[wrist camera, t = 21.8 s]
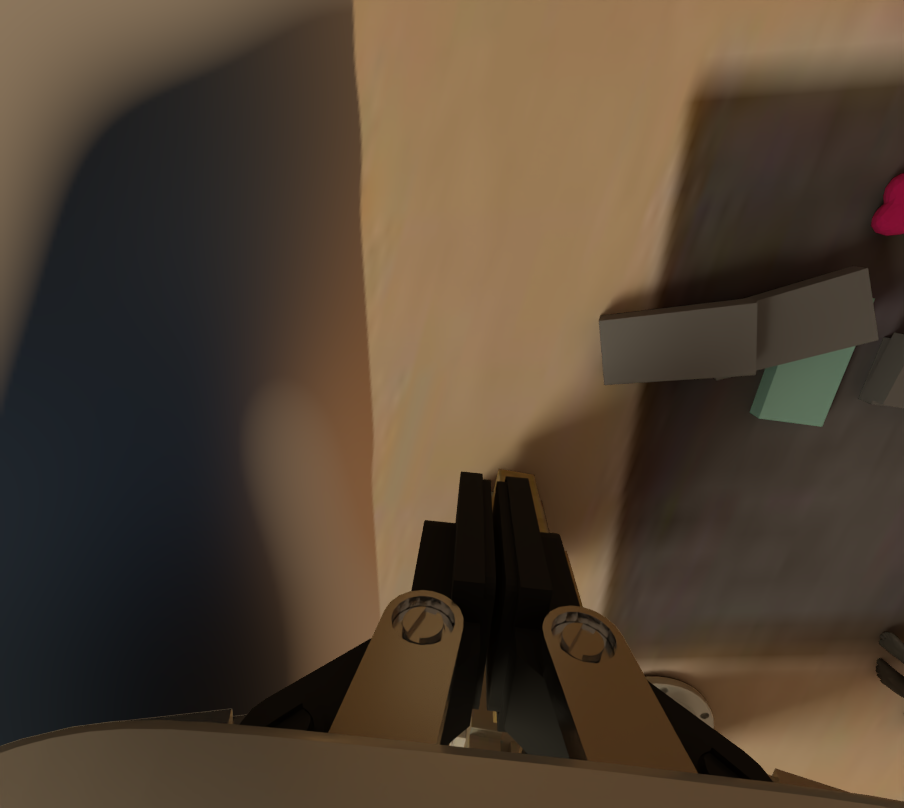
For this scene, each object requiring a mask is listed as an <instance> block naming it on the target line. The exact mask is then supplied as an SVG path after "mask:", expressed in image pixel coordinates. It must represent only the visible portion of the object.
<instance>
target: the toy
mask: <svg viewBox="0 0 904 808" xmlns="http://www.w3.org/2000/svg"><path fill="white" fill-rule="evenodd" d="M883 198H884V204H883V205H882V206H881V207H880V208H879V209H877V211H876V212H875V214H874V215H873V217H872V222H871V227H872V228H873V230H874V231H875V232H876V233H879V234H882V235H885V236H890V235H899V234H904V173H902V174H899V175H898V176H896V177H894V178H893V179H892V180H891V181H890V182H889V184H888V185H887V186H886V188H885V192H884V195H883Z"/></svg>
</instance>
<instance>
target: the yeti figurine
mask: <svg viewBox="0 0 904 808" xmlns="http://www.w3.org/2000/svg"><path fill="white" fill-rule="evenodd" d="M880 638H881V639H880V641H879V644H880V645H881V646H882V647H883V648H885V649H886V650H887V651H888V652H889V653H890V654H892V655H893V656H894V657H896V658H897V659H898V660H900V661H901V662H902V663H904V643H903V642H902V641H901V640H900V639H899V638H898V637H897V636H895V635H894V634H893V633H889V632H884V633H882V634H881V635H880ZM877 664H878V665H877V666H876V672H877V673H878V674H877V676H878V677H879V678H880V679H881V680H880V681H881V682H882V683H883V684H884V685H886V686H887V687H888V688H890V689H891V690H892V691H894V692H895V693H897V694H898V695H900V696H902V697H903V698H904V676H903V675H901V674H900V673H899V672H897V671H896V670H895V669H893V668H892V667H891V666H890V665H889V664H888V663H886V662H885V661H884V660H883V659H881V658H879V659H877Z"/></svg>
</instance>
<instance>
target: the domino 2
mask: <svg viewBox="0 0 904 808" xmlns="http://www.w3.org/2000/svg"><path fill="white" fill-rule="evenodd" d="M747 298H752V299H753V300H754V301H756V302H757V344H756V371H757V370H761V369H765V368H769V367H773V366H777V365H781V364H785V363H789V362H793V361H797V360H801V359H805V358H809V357H813V356H817V355H821V354H825V353H829V352H833V351H837V350H841V349H845V348H849V347H853V346H857V345H861V344H865V343H869V342H873V341H877V340H879V339H878V332H877V326H876V319H875V312H874V305H873V298H872V292H871V285H870V278H869V271H868V268H864V267H856V266H851V267H847V268H844V269H841V270H837V271H834V272H831V273H827V274H824V275H821V276H817V277H814V278H811V279H807V280H804V281H801V282H797V283H794V284H791V285H787V286H784V287H781V288H777V289H774V290H771V291H767V292H764V293H761V294H757V295H754V296H751V297H747ZM744 299H745V298H744ZM725 378H729V377H719V378H714V379H715V380H716V381H717V380H721V379H725Z"/></svg>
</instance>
